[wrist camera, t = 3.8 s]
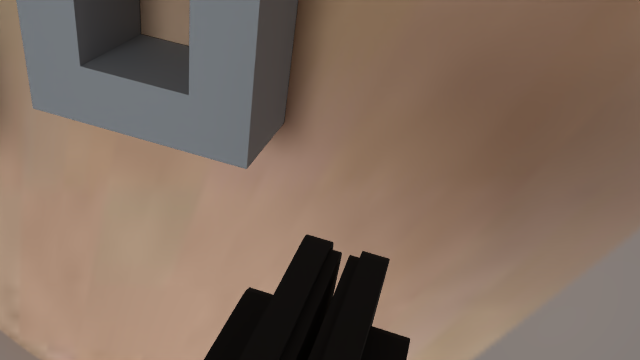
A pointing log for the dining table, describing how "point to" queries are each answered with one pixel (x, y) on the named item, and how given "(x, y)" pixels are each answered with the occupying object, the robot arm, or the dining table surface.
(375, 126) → the dining table surface
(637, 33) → the dining table surface
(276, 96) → the hole block
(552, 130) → the dining table surface
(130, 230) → the dining table surface
